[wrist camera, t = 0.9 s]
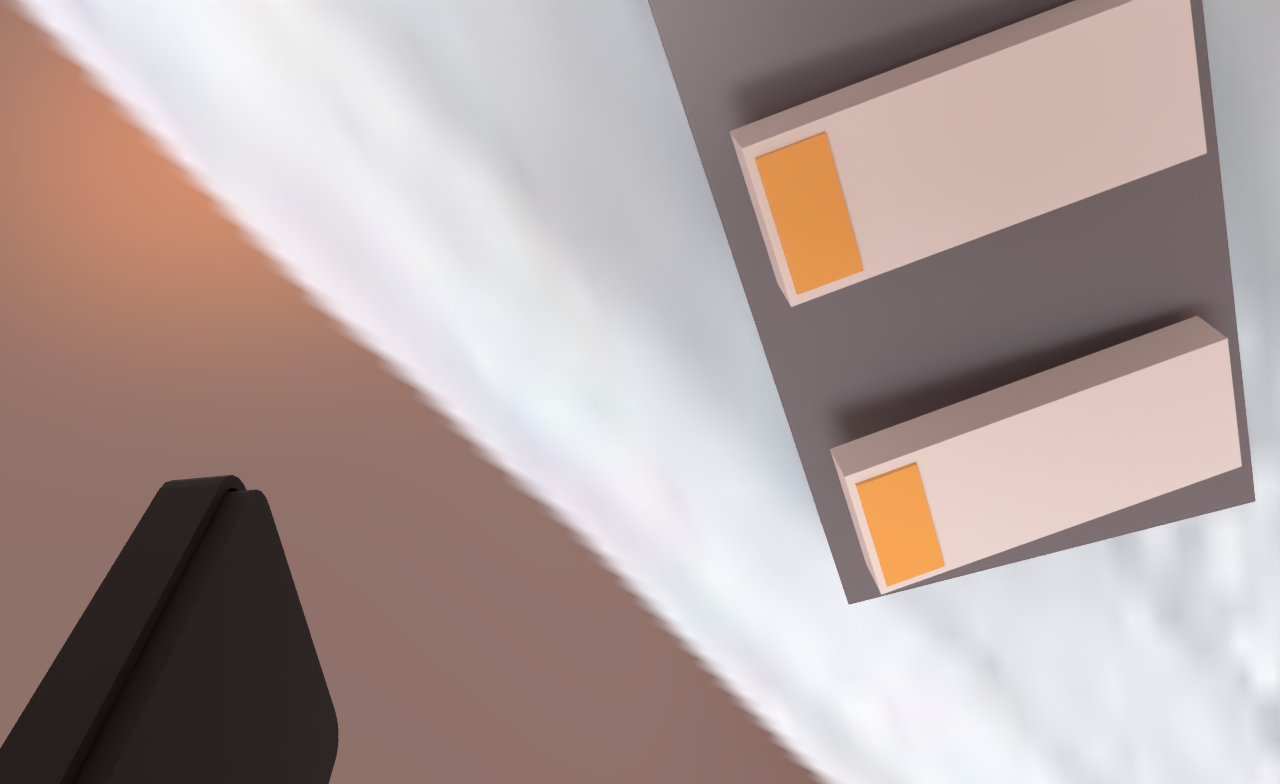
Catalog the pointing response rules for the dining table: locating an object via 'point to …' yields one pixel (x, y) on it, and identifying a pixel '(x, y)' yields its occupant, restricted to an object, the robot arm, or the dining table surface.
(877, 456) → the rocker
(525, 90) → the dining table surface
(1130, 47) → the rocker middle
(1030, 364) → the grey switch panel
